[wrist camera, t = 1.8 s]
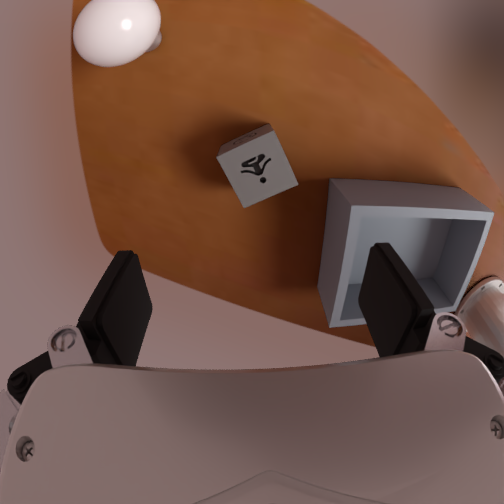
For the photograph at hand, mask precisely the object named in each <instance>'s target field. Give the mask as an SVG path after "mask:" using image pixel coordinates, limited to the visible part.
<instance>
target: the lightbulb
mask: <svg viewBox="0 0 504 504" xmlns="http://www.w3.org/2000/svg"><path fill="white" fill-rule="evenodd" d="M160 25H161V14H160V10H159V7H158V5H157V4H156V2H155V1H154V0H91V1H90V2H89V3H88V4H87V5H86V6H85V7H84V8H83V10H82V11H81V12H80V14H79V16H78V17H77V20H76V22H75V25H74V30H73V41H74V45H75V48H76V50H77V52H78V53H79V55H80V56H81V57H82V58H83V59H84V60H86V61H87V62H89V63H91V64H93V65H97V66H101V67H115V66H120V65H124V64H127V63H129V62H131V61H133V60H135V59H137V58H138V57H140V56H141V55H142V54H144V53H145V52H150V51H152V50H154V49H156V48H157V47H158V46H159V44H160V42H161V39H162V35H161V32H160V31H159V30H160Z"/></svg>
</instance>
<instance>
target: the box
mask: <svg viewBox="0 0 504 504" xmlns="http://www.w3.org/2000/svg"><path fill="white" fill-rule="evenodd" d="M493 215H494V212H493V211H492V210H490V209H489V208H488V207H486V206H485V205H484V204H482V203H481V202H479V201H478V200H477V199H475V198H474V197H472V196H471V195H470V194H468V193H467V192H465V191H464V190H462V189H461V188H456V187H448V186H439V185H429V184H419V183H407V182H394V181H379V180H360V179H334V178H330V179H329V191H328V202H327V212H326V222H325V231H324V240H323V248H322V256H321V264H320V271H319V278H318V285H317V288H318V291H319V294H320V298H321V301H322V304H323V308H324V311H325V314H326V318H327V321H328V325H329V328H331V327H342V326H353V325H362V324H367V323H366V321H365V319H364V316H363V314H362V311H361V309H360V307H359V304H358V297H359V293H360V289H361V285H362V281H363V277H364V273H365V269H366V264H367V260H368V255H369V251H370V248H371V247H372V246H374V244H375V243H385V242H388V243H390V244H391V246H392V247H393V248H394V250H395V251H396V252H397V254H398V255H399V256H400V258H401V259H402V260H403V262H404V263H405V265H406V266H407V267H408V269H409V270H410V272H411V273H412V274H413V276H414V277H415V279H416V280H417V282H418V283H419V285H420V286H421V288H422V289H423V290H424V292H425V293H426V295H427V297H428V298H429V300H430V301H431V303H432V304H433V306H434V307H435V308H434V311H435V313H436V314H438V313H441V312H452V311H456V309H457V307H458V305H459V303H460V301H461V299H462V297H463V294H464V292H465V290H466V288H467V286H468V283H469V281H470V279H471V277H472V274H473V272H474V269H475V267H476V264H477V262H478V259H479V257H480V254H481V251H482V249H483V246H484V243H485V240H486V237H487V235H488V231H489V228H490V225H491V222H492V219H493Z"/></svg>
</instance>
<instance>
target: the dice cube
mask: <svg viewBox="0 0 504 504" xmlns="http://www.w3.org/2000/svg"><path fill="white" fill-rule="evenodd" d="M216 158H217V159H218V161H219V163H220V165H221V167H222V169H223V170H224V172H225V174H226V176H227V178H228V180H229V181H230V183H231V185H232V187H233V189H234V191H235V192H236V194H237V196H238V198H239V200H240V202H241V204H242V205H243V207H244V208H246V207H248V206H250V205H253V204H255V203H257V202H259V201H262V200H264V199H266V198H269V197H271V196H273V195H275V194H278V193H280V192H282V191H285V190H287V189H289V188H292V187H294V186H297V185H298V182H297V180H296V178H295V175H294V173H293V171H292V169H291V166H290V164H289V162H288V160H287V157H286V155H285V153H284V151H283V149H282V147H281V144H280V142H279V140H278V138H277V136H276V134H275V132H274V130H273V128H272V127H271V125H270V124H266V125H264V126H262V127H260V128H257V129H255V130H253V131H251V132H249V133H246V134H244V135H242V136H240V137H238V138H236V139H234V140H232V141H229V142H227V143H225V144H223V145H221V147H220V150H219V152H218V154H217V157H216Z"/></svg>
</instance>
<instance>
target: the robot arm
mask: <svg viewBox="0 0 504 504" xmlns="http://www.w3.org/2000/svg"><path fill="white" fill-rule="evenodd" d="M358 304H359V307H360V309H361V311H362V314H363V316H364V319H365V321H366V323H367V326H368V328H369V331H370V333H371V336H372V338H373V341H374V343H375V346H376V349H377V351H378V354H379V356H380V357H379V358H373V359H365V360H358V361H351V362H343V363H334V364H325V365H314V366H302V367H290V368H273V369H243V370H195V369H194V370H193V369H167V368H150V367H136V362H137V359H138V355H139V352H140V349H141V345H142V342H143V339H144V336H145V332H146V329H147V326H148V322H149V320H150V317H151V313H152V303H151V300H150V296H149V293H148V290H147V287H146V283H145V280H144V277H143V273H142V269H141V266H140V262H139V258H138V255H137V254H134V253H133V251H131V250H127V251H118V252H117V254H116V255H115V257H114V258H113V260H112V262H111V263H110V265H109V266H108V268H107V270H106V271H105V273H104V275H103V276H102V278H101V280H100V281H99V283H98V285H97V287H96V288H95V290H94V292H93V294H92V295H91V297H90V299H89V301H88V303H87V304H86V306H85V308H84V310H83V312H82V314H81V315H80V317H79V319H78V321H79V322H78V324H77V326H76V327H75V326H72V325H67V326H63V327H60V328H58V329H57V330H55V331H54V332H53V333H52V334H51V336H50V337H49V339H48V343H47V347H48V351H47V352H45V353H43V354H41V355H40V356H38V357H36V358H35V359H33V360H31V361H29V362H28V363H26V364H24V365H23V366H21V367H19V368H17V369H16V370H15V371H13V373H12V374H11V375H10V377H9V379H8V383H7V388H8V390H7V391H5V390H4V389H3V390H2V391H1V392H0V504H504V283H503V281H502V280H501V279H500V278H498V277H495V276H494V277H489V278H486V279H485V280H483V281H481V282H480V283H478V284H477V285H476V286H475V287H473V288H472V289H471V290H470V291H469V292H468V293H467V295H466V296H465V297H464V298H463V300H462V301H461V303H460V304H459V306H458V308H457V310H456V312H455V315H454V314H451V313H448V312H441V313H438V314H437V315H436V313H435V311H434V308H435V307H434V306H433V304H432V303H431V301H430V300H429V298H428V297H427V295H426V293H425V292H424V290H423V289H422V288H421V286H420V285H419V283H418V282H417V280H416V279H415V277H414V276H413V274H412V273H411V272H410V270H409V269H408V267H407V266H406V265H405V263H404V262H403V260H402V259H401V258H400V256H399V255H398V254H397V252H396V251H395V250H394V248H393V247H392V246H391V244H390V243H388V242H385V243H375V244H374V246H372V247H371V248H370V251H369V255H368V260H367V264H366V269H365V273H364V277H363V281H362V285H361V289H360V293H359V297H358ZM466 332H468V333H469V334H470V336H471V338H472V339H471V338H469V337H467V336H466Z"/></svg>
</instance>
